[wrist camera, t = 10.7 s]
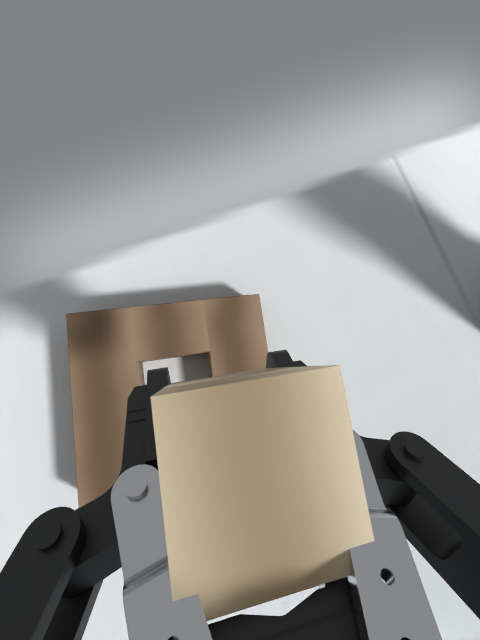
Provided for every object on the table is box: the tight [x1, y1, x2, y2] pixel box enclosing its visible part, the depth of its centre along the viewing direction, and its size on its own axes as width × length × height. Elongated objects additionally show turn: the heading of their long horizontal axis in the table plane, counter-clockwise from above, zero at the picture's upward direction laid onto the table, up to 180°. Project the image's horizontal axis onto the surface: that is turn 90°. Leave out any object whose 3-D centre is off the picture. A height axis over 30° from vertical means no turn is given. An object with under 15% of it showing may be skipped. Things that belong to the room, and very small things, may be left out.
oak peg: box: [151, 365, 374, 621], centre depth 11 cm, size 4×4×10 cm
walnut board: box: [66, 294, 268, 508], centre depth 26 cm, size 16×15×3 cm
